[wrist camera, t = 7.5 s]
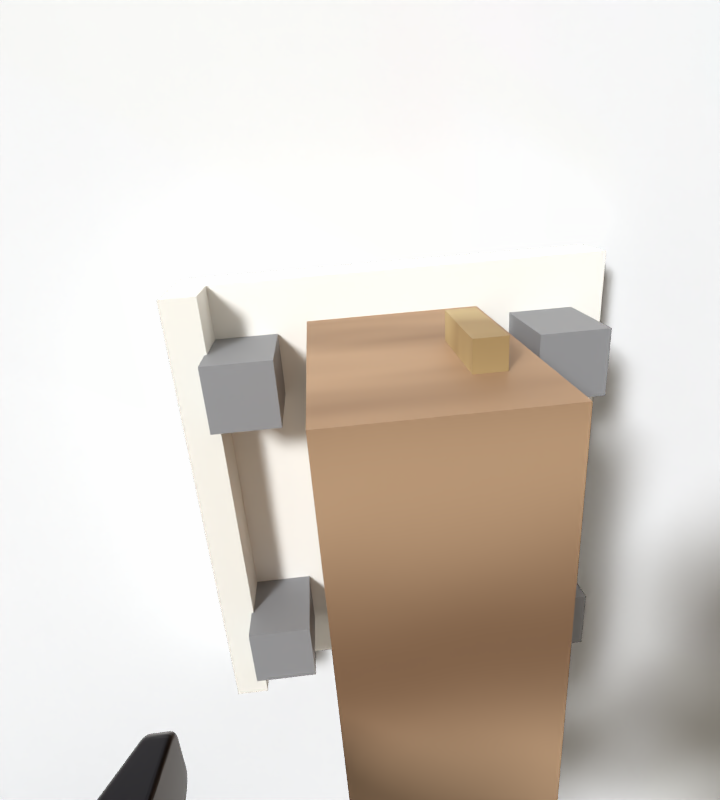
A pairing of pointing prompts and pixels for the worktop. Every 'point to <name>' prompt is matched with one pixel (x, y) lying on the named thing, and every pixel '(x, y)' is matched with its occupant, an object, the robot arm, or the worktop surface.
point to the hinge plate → (286, 411)
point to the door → (446, 550)
